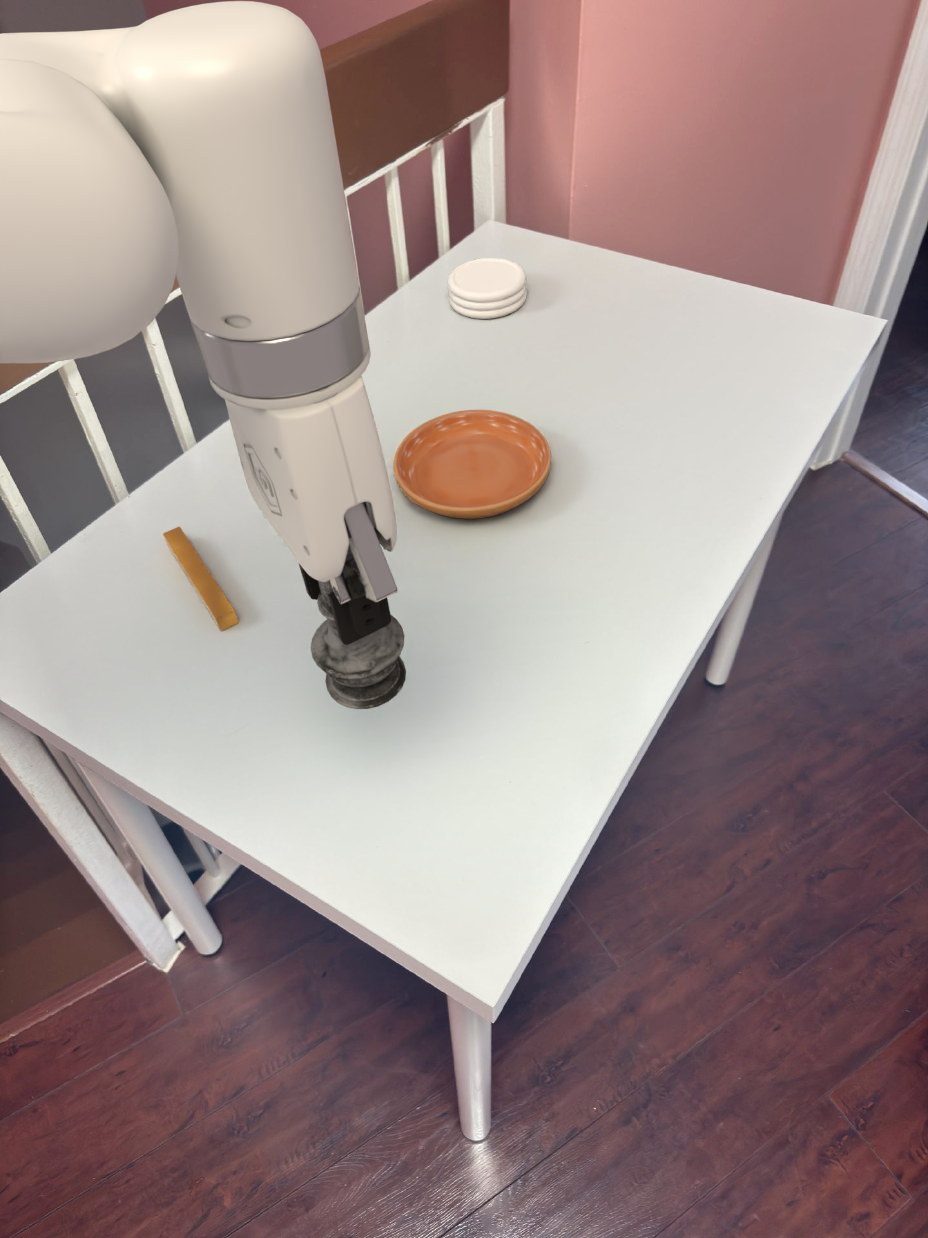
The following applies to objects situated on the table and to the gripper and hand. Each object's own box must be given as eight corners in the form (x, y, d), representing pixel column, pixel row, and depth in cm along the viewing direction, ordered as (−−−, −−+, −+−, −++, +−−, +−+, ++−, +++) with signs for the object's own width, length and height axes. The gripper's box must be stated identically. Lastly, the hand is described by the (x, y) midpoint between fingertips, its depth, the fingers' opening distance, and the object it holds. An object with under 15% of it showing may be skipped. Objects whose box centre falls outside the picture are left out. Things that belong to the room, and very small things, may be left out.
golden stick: (221, 631, 82) (215, 618, 81) (168, 546, 91) (162, 533, 89) (239, 623, 83) (234, 609, 82) (185, 538, 91) (179, 525, 90)
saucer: (575, 505, 90) (575, 482, 88) (420, 548, 88) (417, 525, 85) (519, 417, 101) (518, 394, 98) (380, 453, 98) (376, 430, 96)
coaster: (441, 318, 116) (438, 293, 113) (459, 279, 122) (456, 254, 119) (519, 322, 114) (518, 296, 111) (532, 282, 120) (532, 256, 117)
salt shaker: (369, 728, 57) (335, 595, 48) (302, 685, 59) (259, 551, 50) (429, 668, 60) (407, 532, 51) (363, 629, 62) (332, 494, 53)
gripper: (146, 289, 45) (239, 557, 58) (281, 457, 35) (356, 733, 49) (284, 243, 47) (343, 511, 61) (448, 389, 37) (475, 670, 51)
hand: (348, 607), depth 55 cm, fingers closed on salt shaker, 3 cm apart
